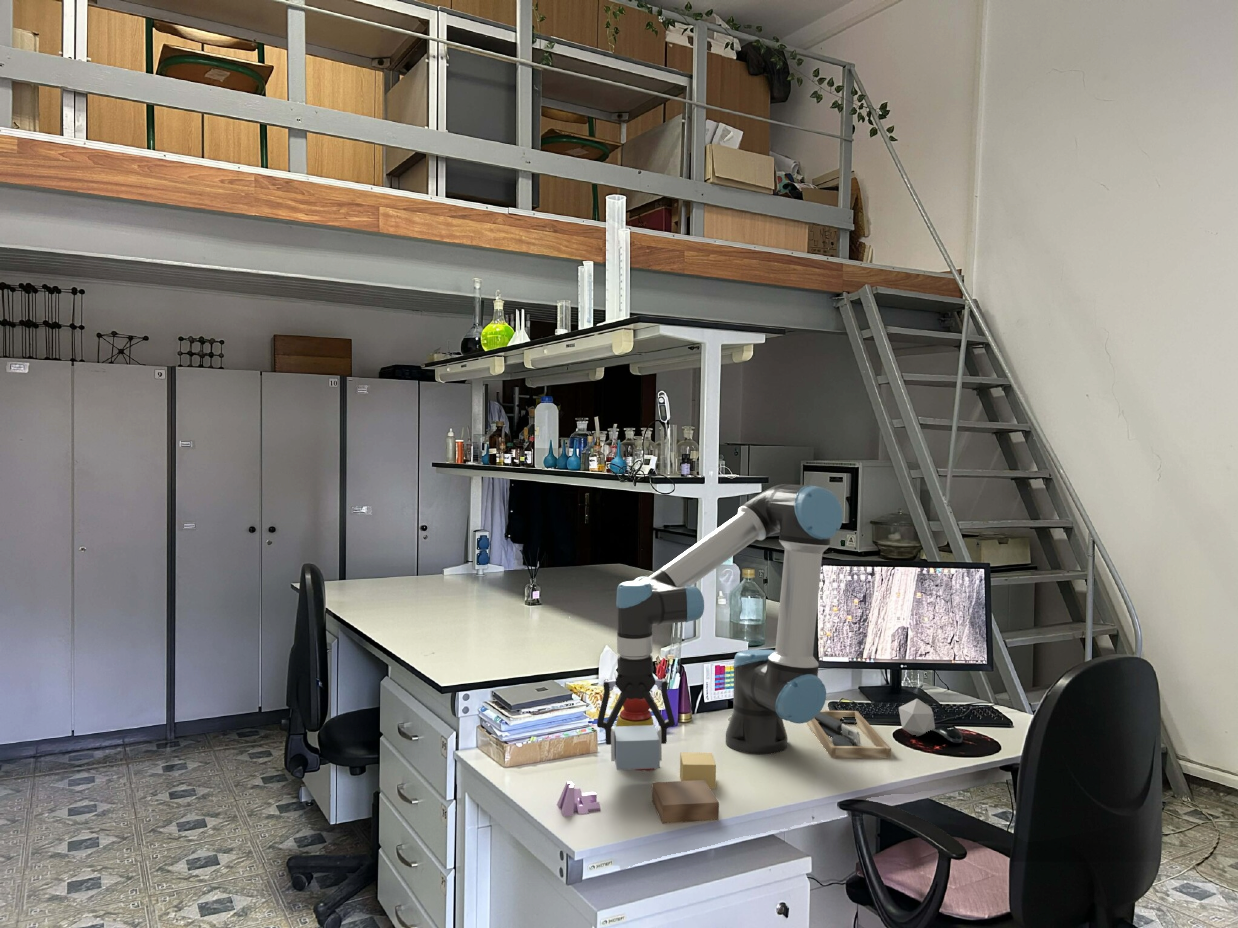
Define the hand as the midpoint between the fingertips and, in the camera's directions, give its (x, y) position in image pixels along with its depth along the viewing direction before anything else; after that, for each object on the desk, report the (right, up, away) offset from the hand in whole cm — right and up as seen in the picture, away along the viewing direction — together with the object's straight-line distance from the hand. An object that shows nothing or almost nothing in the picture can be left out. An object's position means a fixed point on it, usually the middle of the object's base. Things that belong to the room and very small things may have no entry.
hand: (636, 758), depth 181 cm
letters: (-12, -7, -12) cm, 18 cm away
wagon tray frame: (+53, -6, +32) cm, 62 cm away
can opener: (+51, -7, +31) cm, 60 cm away
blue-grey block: (0, -1, 0) cm, 1 cm away
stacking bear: (0, -6, +15) cm, 16 cm away
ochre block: (+13, -7, +2) cm, 15 cm away
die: (+72, -7, +35) cm, 81 cm away
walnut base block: (+9, -7, -13) cm, 18 cm away
